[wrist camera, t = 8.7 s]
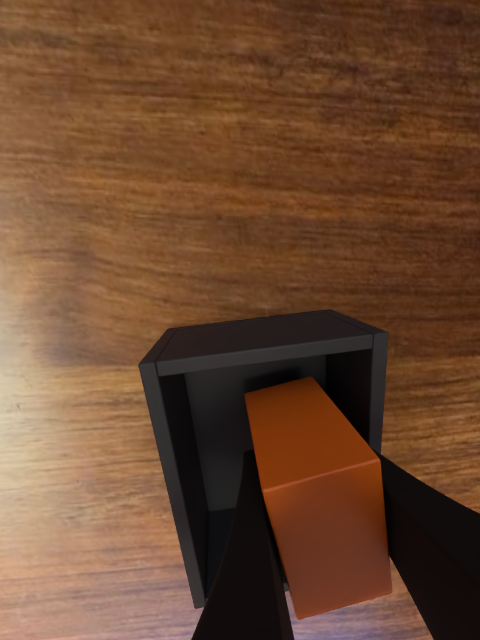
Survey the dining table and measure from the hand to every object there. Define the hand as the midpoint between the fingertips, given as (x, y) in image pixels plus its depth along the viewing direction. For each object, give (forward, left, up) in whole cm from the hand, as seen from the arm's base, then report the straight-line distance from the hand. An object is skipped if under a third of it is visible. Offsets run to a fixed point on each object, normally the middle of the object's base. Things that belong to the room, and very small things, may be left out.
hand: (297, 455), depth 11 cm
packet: (0, 0, -1) cm, 1 cm away
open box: (+1, +1, -3) cm, 4 cm away
